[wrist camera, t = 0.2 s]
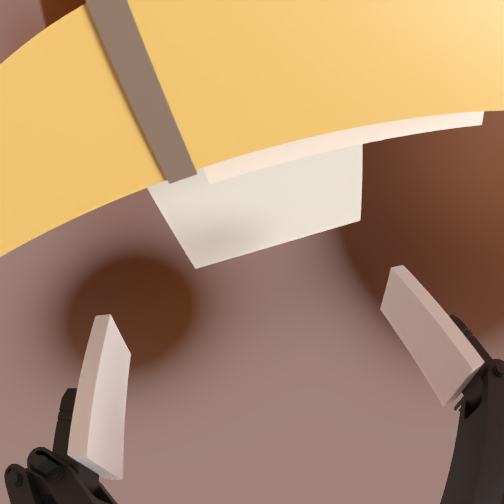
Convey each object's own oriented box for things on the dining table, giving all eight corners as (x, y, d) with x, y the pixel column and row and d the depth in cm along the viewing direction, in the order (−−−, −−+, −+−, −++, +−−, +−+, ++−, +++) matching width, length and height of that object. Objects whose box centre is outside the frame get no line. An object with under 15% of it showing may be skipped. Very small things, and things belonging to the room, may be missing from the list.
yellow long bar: (-21, 230, 8) (-47, 289, 6) (-71, 162, 5) (-111, 216, 3) (511, 78, 7) (561, 113, 5) (513, -1, 4) (571, 24, 2)
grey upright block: (189, 132, 35) (195, 268, 20) (162, 64, 27) (125, 149, 13) (280, 106, 34) (360, 220, 20) (264, 34, 26) (360, 83, 12)
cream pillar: (194, 56, 27) (205, 190, 10) (171, -12, 20) (102, -71, 3) (299, 32, 27) (483, 128, 9) (283, -36, 20) (482, -64, 2)
